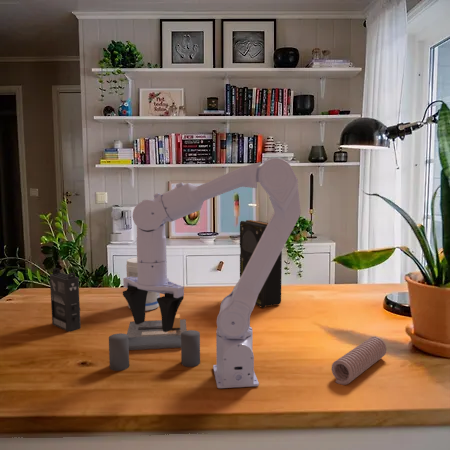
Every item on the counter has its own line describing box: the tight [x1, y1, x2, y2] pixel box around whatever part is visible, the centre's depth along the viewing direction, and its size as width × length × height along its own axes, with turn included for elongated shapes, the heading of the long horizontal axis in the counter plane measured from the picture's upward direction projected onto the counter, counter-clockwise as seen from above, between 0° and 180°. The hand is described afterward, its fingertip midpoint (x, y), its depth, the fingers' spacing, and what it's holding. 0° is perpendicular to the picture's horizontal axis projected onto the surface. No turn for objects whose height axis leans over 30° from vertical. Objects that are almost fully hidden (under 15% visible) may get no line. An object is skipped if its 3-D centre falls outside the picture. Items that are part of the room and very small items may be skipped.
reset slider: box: [173, 313, 181, 328], centre depth 108 cm, size 3×3×2 cm
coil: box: [331, 336, 388, 386], centre depth 92 cm, size 5×5×18 cm
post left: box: [108, 333, 130, 372], centre depth 93 cm, size 4×4×6 cm
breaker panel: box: [126, 318, 188, 351], centre depth 108 cm, size 11×14×3 cm
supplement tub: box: [125, 256, 161, 312], centre depth 133 cm, size 10×10×15 cm
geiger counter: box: [49, 267, 82, 332], centre depth 117 cm, size 10×4×15 cm, turn 48°
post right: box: [180, 329, 201, 368], centre depth 95 cm, size 4×4×6 cm
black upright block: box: [239, 219, 283, 309], centre depth 139 cm, size 16×9×25 cm, turn 25°
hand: (153, 326), depth 89 cm, fingers open, 7 cm apart
